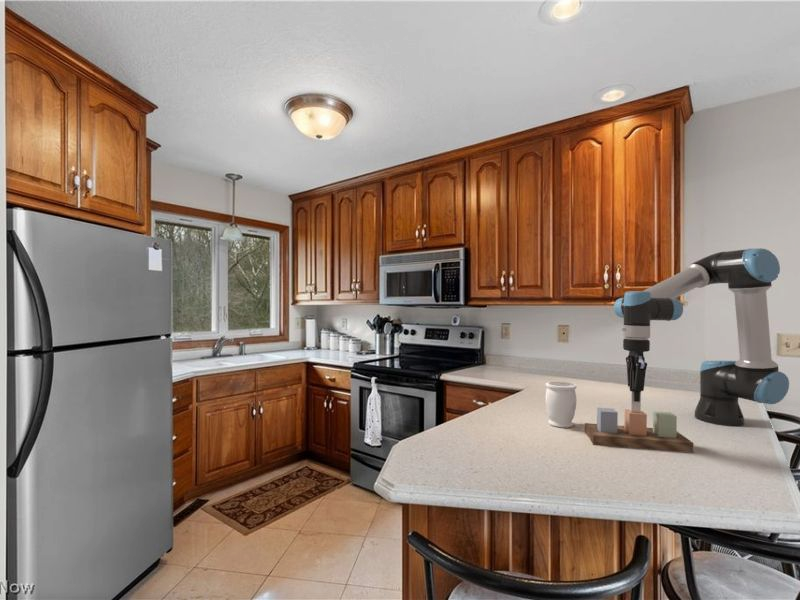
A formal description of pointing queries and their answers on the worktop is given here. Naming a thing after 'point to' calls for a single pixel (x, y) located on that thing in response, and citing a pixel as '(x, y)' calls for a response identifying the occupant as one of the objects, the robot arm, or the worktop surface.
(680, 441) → the brown board
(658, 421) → the sage green block
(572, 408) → the jar
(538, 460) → the worktop surface
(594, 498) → the worktop surface
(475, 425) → the worktop surface
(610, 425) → the blue-gray block
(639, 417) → the terracotta toy cube
